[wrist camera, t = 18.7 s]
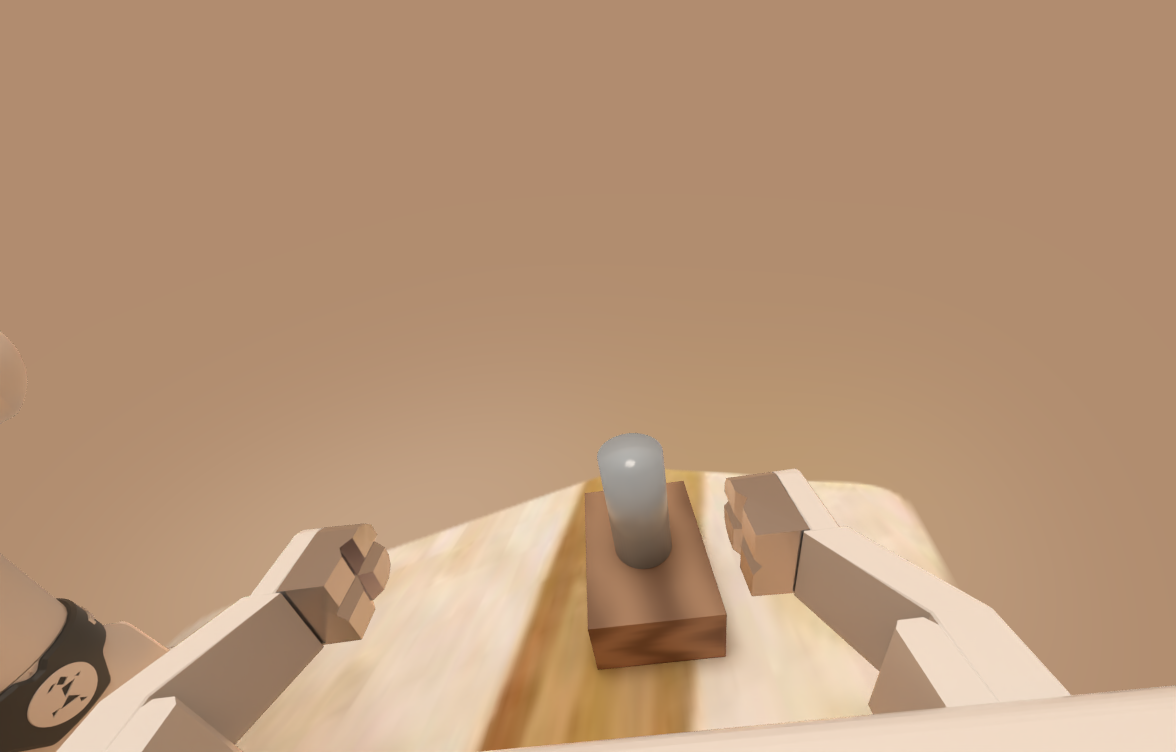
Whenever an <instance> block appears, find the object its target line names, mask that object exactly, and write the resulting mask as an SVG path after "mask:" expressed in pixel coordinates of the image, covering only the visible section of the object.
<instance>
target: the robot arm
mask: <svg viewBox="0 0 1176 752" xmlns="http://www.w3.org/2000/svg"><path fill="white" fill-rule="evenodd" d="M26 392H27V372H26V367H25V365H24V362H23V359H22V357H21V355H20V354H19V352H18V350H17V349H16V347H15V346H14V345H13V343H12V342H11V341H10V340H9V339H8V338H7V337H6V336H5V335H4V334H3V333H2V332H1V331H0V424H1V423H3V422H4V421H6V420H8V419H10V418H12V417H14V416H15V415H16V414H18V412H19V410H20V408H21V407H22V405H23V402H24V399H25V396H26ZM725 494H726V496H727V498H728V502H727V504H726V505H725V506H724V515H725V523H726V529H727V533H728V536H729V540H730V542H731V545H732V548H733V550H735V551H736V552H737V553H739V554H740V555H741V561H740V568H741V570H742V573H743V575H744V578H745V580H746V583H747V585H748V588H749V590H750V593H751V595H752V596H762V595H774V594H786V593H794V595H795V596H796V597H797V598H798V599H799V600H800V601H801V602H802V603H804V604H805V605H806V606H807V607H808V608H809V609H810V610H811V611H813V612H814V613H815V614H816V615H817V616H818V617H819V618H820V619H821V620H823V621H824V622H825V623H826V624H827V625H828V626H829V627H830V628H832V629H833V630H834V631H835V632H836V633H837V634H838V635H839V636H840V637H842V638H843V639H844V640H845V641H846V642H847V643H848V644H849V645H850V646H852V647H853V648H854V649H855V650H856V651H857V652H858V653H859V654H861V655H862V656H863V657H864V658H865V659H866V660H867V661H868V662H869V663H871V664H872V665H873V666H874V667H875V668H876V669H877V670H878V671H880V672H879V675H878V678H877V681H876V684H875V686H874V689H873V692H872V695H871V698H870V701H869V703H868V705H869V707H870V709H871V711H872V713H873V714H872V715H861V716H851V717H840V718H830V719H819V720H809V721H798V722H788V723H777V724H767V725H756V726H745V727H735V728H724V729H714V730H703V731H693V732H682V733H672V734H661V735H650V736H640V737H629V738H619V739H608V740H598V741H587V742H577V743H566V744H556V745H545V746H534V747H524V748H513V749H503V750H492V751H482V752H1176V686H1165V687H1155V688H1144V689H1134V690H1124V691H1114V692H1102V693H1092V694H1081V695H1071V694H1069V692H1068V691H1067V690H1066V689H1065V688H1064V687H1063V686H1062V685H1061V683H1060V682H1059V681H1058V680H1057V679H1056V678H1055V677H1054V676H1053V675H1052V674H1051V673H1050V671H1049V670H1048V669H1047V668H1046V667H1045V666H1044V665H1043V664H1042V663H1041V661H1040V660H1039V659H1038V658H1037V657H1036V656H1035V655H1034V654H1033V653H1032V652H1031V650H1030V649H1029V648H1028V647H1027V646H1026V645H1025V644H1024V643H1023V642H1022V641H1021V640H1020V638H1019V637H1018V636H1017V635H1016V634H1015V633H1014V632H1013V631H1012V630H1011V628H1010V627H1008V625H1007V624H1006V623H1005V622H1004V621H1003V620H1002V619H1001V617H1000V616H999V615H998V614H997V613H996V612H995V611H994V610H993V609H992V608H991V607H989V606H987V605H986V604H984V603H982V602H980V601H978V600H977V599H975V598H973V597H971V596H970V595H968V594H966V593H964V592H963V591H961V590H959V589H957V588H956V587H954V586H952V585H950V584H948V583H947V582H945V581H943V580H941V579H940V578H938V577H936V576H934V575H933V574H931V573H929V572H927V571H925V570H924V569H922V568H920V567H918V566H917V565H915V564H913V563H911V562H910V561H908V560H906V559H904V558H903V557H901V556H899V555H897V554H895V553H894V552H892V551H890V550H888V549H887V548H885V547H883V546H881V545H880V544H878V543H876V542H874V541H872V540H871V539H869V538H867V537H865V536H864V535H862V534H860V533H858V532H857V531H855V530H853V529H851V528H850V527H848V526H844V527H839V525H838V524H837V523H836V521H835V520H834V518H833V517H832V516H831V514H830V513H829V511H828V510H827V508H826V507H825V506H824V504H823V503H822V501H821V500H820V499H819V497H818V496H817V494H816V493H815V492H814V490H813V489H812V487H811V486H810V485H809V483H808V482H807V480H806V479H805V478H804V476H803V475H802V474H801V472H800V471H799V470H797V469H790V470H783V471H775V472H772V473H771V472H768V473H762V474H753V475H746V476H739V477H731V478H726V481H725ZM376 536H377V533H376V531H375V530H374V528H373V526H372V525H371V524H355V525H345V526H335V527H325V528H321V529H309V530H303V531H301V532H299V533H298V534H296V535H295V536H294V538H293V539H292V540H291V542H290V543H289V544H288V546H287V547H286V548H285V550H284V551H283V552H282V554H281V555H280V556H279V558H278V559H277V560H276V562H275V563H274V564H273V566H272V567H271V568H270V570H269V571H268V572H267V574H266V575H265V576H264V578H263V579H262V580H261V582H260V583H259V584H258V586H257V587H256V589H255V590H254V591H253V592H252V594H251V595H250V596H247V597H242V598H241V599H240V600H238V601H237V602H235V603H234V604H233V605H231V606H230V607H229V608H227V609H226V610H225V611H223V612H222V613H220V614H219V615H218V616H216V617H215V618H214V619H212V620H211V621H209V622H208V623H207V624H205V625H204V626H203V627H201V628H200V629H199V630H197V631H196V632H194V633H193V634H192V635H190V636H189V637H188V638H186V639H185V640H183V641H182V642H181V643H179V644H178V645H177V646H175V647H171V648H168V649H167V648H166V647H164V646H163V645H161V644H159V643H158V642H157V641H155V640H154V639H153V638H151V637H150V636H148V635H147V634H145V633H144V632H142V631H141V630H139V629H138V628H136V627H135V626H133V625H132V624H130V623H128V622H124V621H120V622H118V623H112V624H106V625H102V624H101V623H100V622H98V621H97V620H96V619H95V617H94V615H93V614H92V613H90V612H89V611H88V610H86V609H85V608H83V607H80V606H78V605H76V604H75V603H74V602H72V601H70V600H67V599H60V598H59V599H58V598H54V597H53V596H52V595H51V594H50V593H48V592H47V591H46V590H45V589H43V588H42V587H41V586H40V585H39V584H37V583H36V582H35V581H34V580H32V579H31V578H30V577H29V576H28V575H26V574H25V573H24V572H23V571H22V570H20V569H19V568H18V567H17V566H15V565H14V564H13V563H12V562H11V561H9V560H8V559H7V558H6V557H4V556H3V555H2V554H1V553H0V752H243V751H241V750H240V749H239V748H238V747H237V746H235V744H236V743H237V741H238V740H239V739H240V738H241V737H242V736H243V735H244V734H245V733H246V732H247V731H248V729H249V728H250V727H251V726H252V725H253V724H254V723H255V722H256V721H257V720H258V718H259V717H260V716H261V715H262V714H263V713H264V712H265V711H266V710H267V709H268V708H269V706H270V705H271V704H272V703H273V702H274V701H275V700H276V699H277V698H278V697H279V696H280V694H281V693H282V692H283V691H284V690H285V689H286V688H287V687H288V686H289V685H290V683H291V682H292V681H293V680H294V679H295V678H296V677H297V676H298V675H299V674H300V673H301V671H302V670H303V669H304V668H305V667H306V666H307V665H308V664H309V663H310V662H311V661H312V659H313V658H314V657H315V656H316V655H317V654H318V653H319V652H320V651H321V650H322V648H323V647H324V646H323V645H326V644H333V643H340V642H347V641H354V640H361V639H362V638H363V636H364V633H365V631H366V629H367V627H368V624H369V622H370V620H371V618H372V616H373V613H374V611H375V606H374V602H373V600H374V599H375V598H376V597H377V596H378V595H379V594H380V593H381V592H382V591H383V590H384V588H385V586H386V584H387V581H388V579H389V573H390V565H391V564H390V559H389V554H388V552H387V551H386V549H385V547H383V546H381V545H380V544H378V543H376V542H375V539H376Z"/></svg>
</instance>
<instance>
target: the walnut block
mask: <svg viewBox="0 0 1176 752" xmlns="http://www.w3.org/2000/svg"><path fill="white" fill-rule="evenodd" d="M666 489H667V499H668V509H669V520H670V530H671V540H672V549H671V552H670V554H669V556H668V557H667V559H666V560H665V561H664V562H663V563H661V564H660V565H658V566H656V567H653V568H649V569H637V568H633V567H630V566H628V565H626V564H625V563H623V562H622V561H621V560H620V559H619V557H618V556H617V554H616V551H615V546H614V541H613V536H612V531H611V526H610V521H609V516H608V510H607V505H606V500H605V495H604V491H599V492H591V493H585V523H586V565H587V608H588V631H589V636H590V640H591V644H592V648H593V652H594V656H595V660H596V664H597V668H598V670H599V669H608V668H618V667H627V666H637V665H647V664H656V663H666V662H675V661H685V660H694V659H704V658H714V657H723V656H725V654H726V616H727V614H726V611H725V608H724V605H723V602H722V599H721V596H720V593H719V590H718V586H717V583H716V580H715V577H714V574H713V571H712V568H711V565H710V562H709V559H708V556H707V553H706V549H705V546H704V543H703V540H702V537H701V534H700V531H699V528H698V525H697V522H696V519H695V516H694V512H693V509H692V506H691V503H690V500H689V497H688V494H687V491H686V488H685V485H684V482H683V481H679V482H671V483H666Z"/></svg>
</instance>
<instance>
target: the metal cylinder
mask: <svg viewBox="0 0 1176 752" xmlns="http://www.w3.org/2000/svg"><path fill="white" fill-rule="evenodd" d="M597 459H598V464H599V469H600V475H601V480H602V485H603V490H604V495H605V500H606V505H607V510H608V516H609V521H610V526H611V531H612V536H613V541H614V546H615V551H616V554H617V556H618V557H619V559H620V560H621V561H622V562H623V563H625V564H626V565H628V566H630V567H633V568H637V569H649V568H653V567H656V566H658V565H660V564H661V563H663V562H664V561H665V560H666V559H667V557H668V556H669V554H670V552H671V549H672V540H671V530H670V520H669V509H668V499H667V489H666V479H665V468H664V459H663V450H662V447H661V445H660V443H659V442H658V441H657V440H655V439H654V438H652V437H650V436H648V435H644V434H638V433H629V434H623V435H619V436H616V437H613V438H611V439H610V440H608V441H607V442H606V443H604V444H603V445H602V446H601V448H600V449H599V451H598V456H597Z"/></svg>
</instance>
